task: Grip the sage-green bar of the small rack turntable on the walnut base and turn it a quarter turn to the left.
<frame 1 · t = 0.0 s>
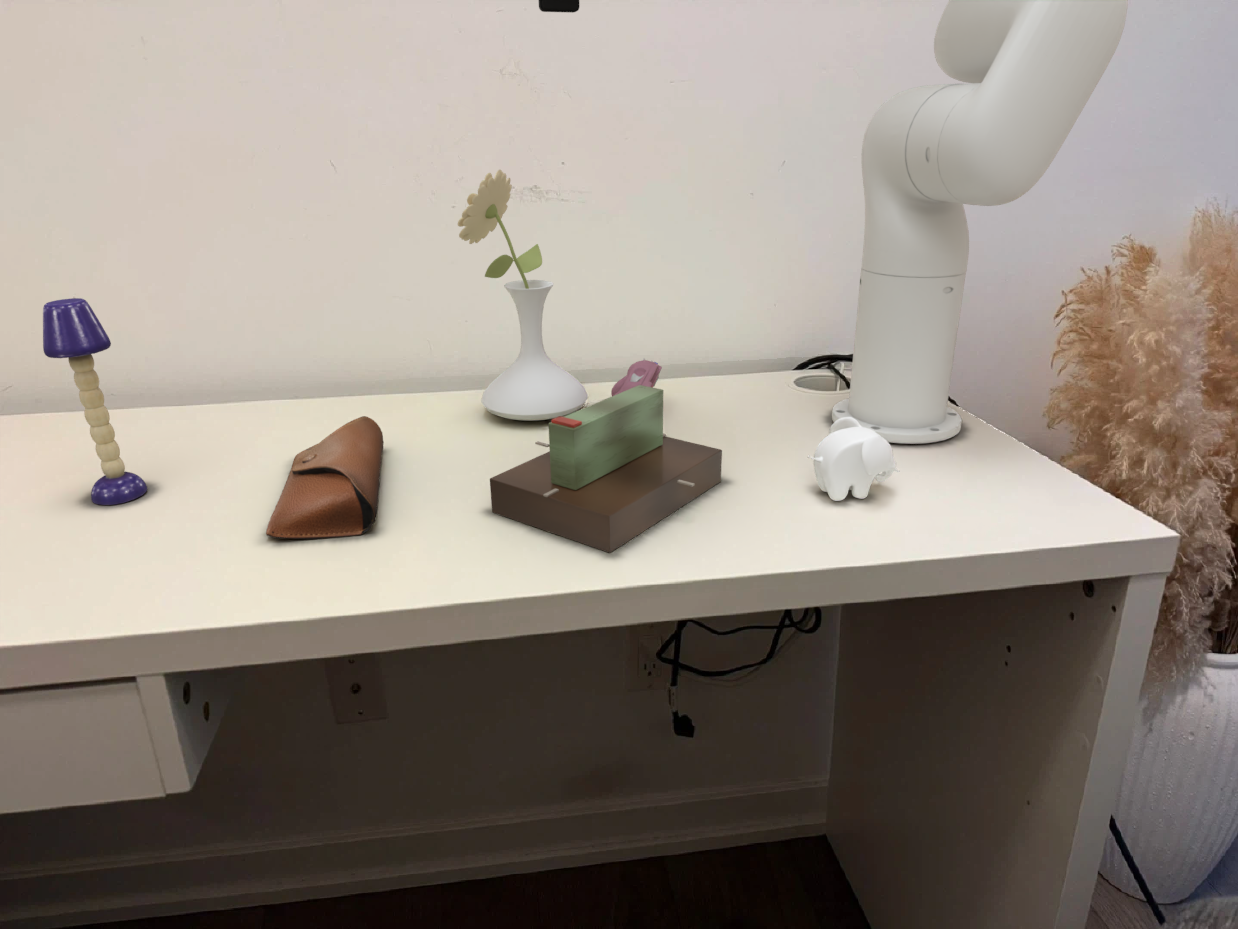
hand: (576, 4, 63), 37 cm above the table, tool pointing down, fingers open, 9 cm apart
toy lamp: (118, 496, 73), on the table
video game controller: (630, 416, 91), on the table
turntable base: (610, 496, 71), on the table
rack bar: (609, 433, 69), point 6 cm above the table, hinge at 0.0°
sunglasses case: (333, 494, 73), on the table
elephant figurine: (848, 495, 71), on the table
flower in vase: (529, 416, 91), on the table
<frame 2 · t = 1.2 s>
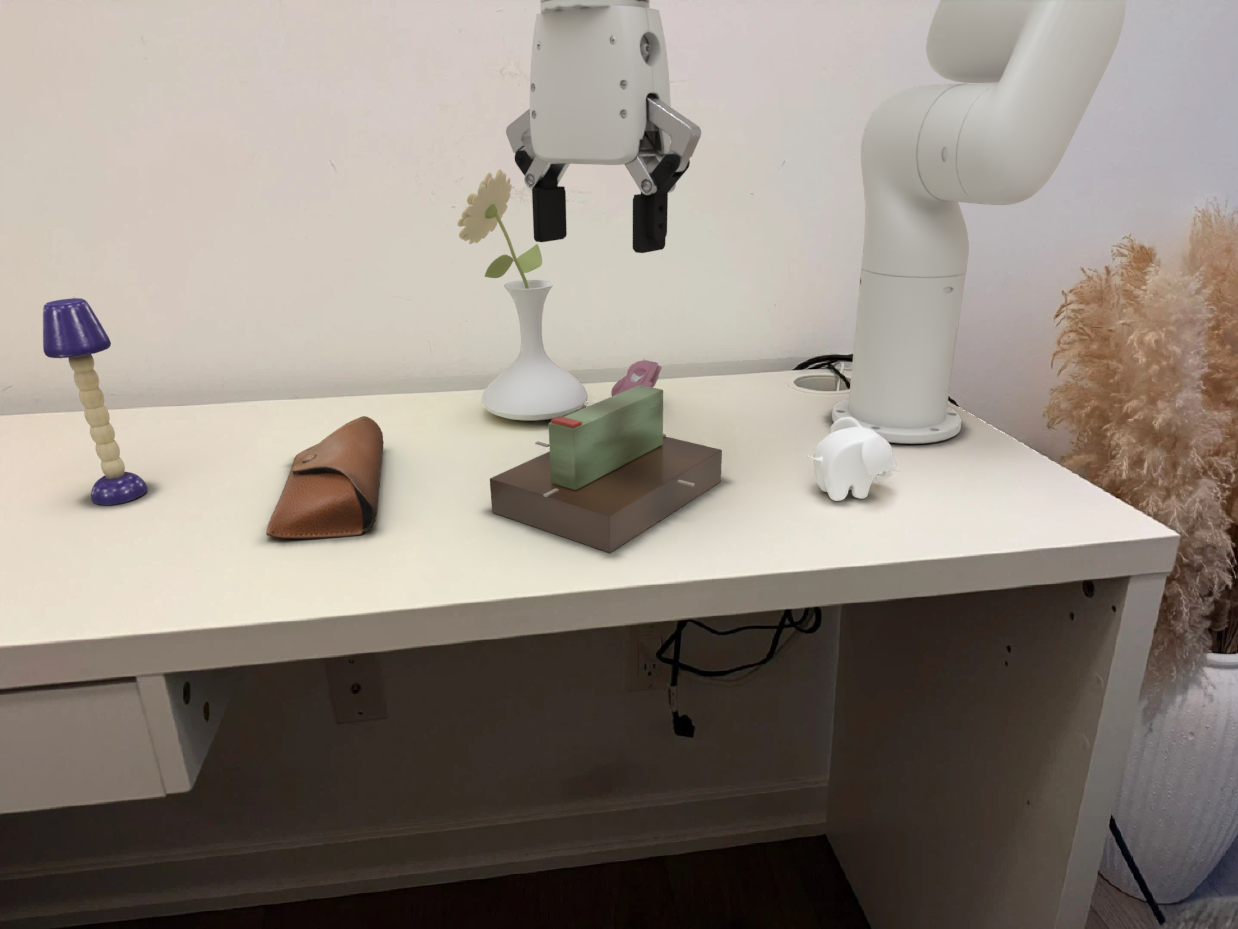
hand: (597, 245, 65), 20 cm above the table, tool pointing down, fingers open, 9 cm apart
nothing on the table moved.
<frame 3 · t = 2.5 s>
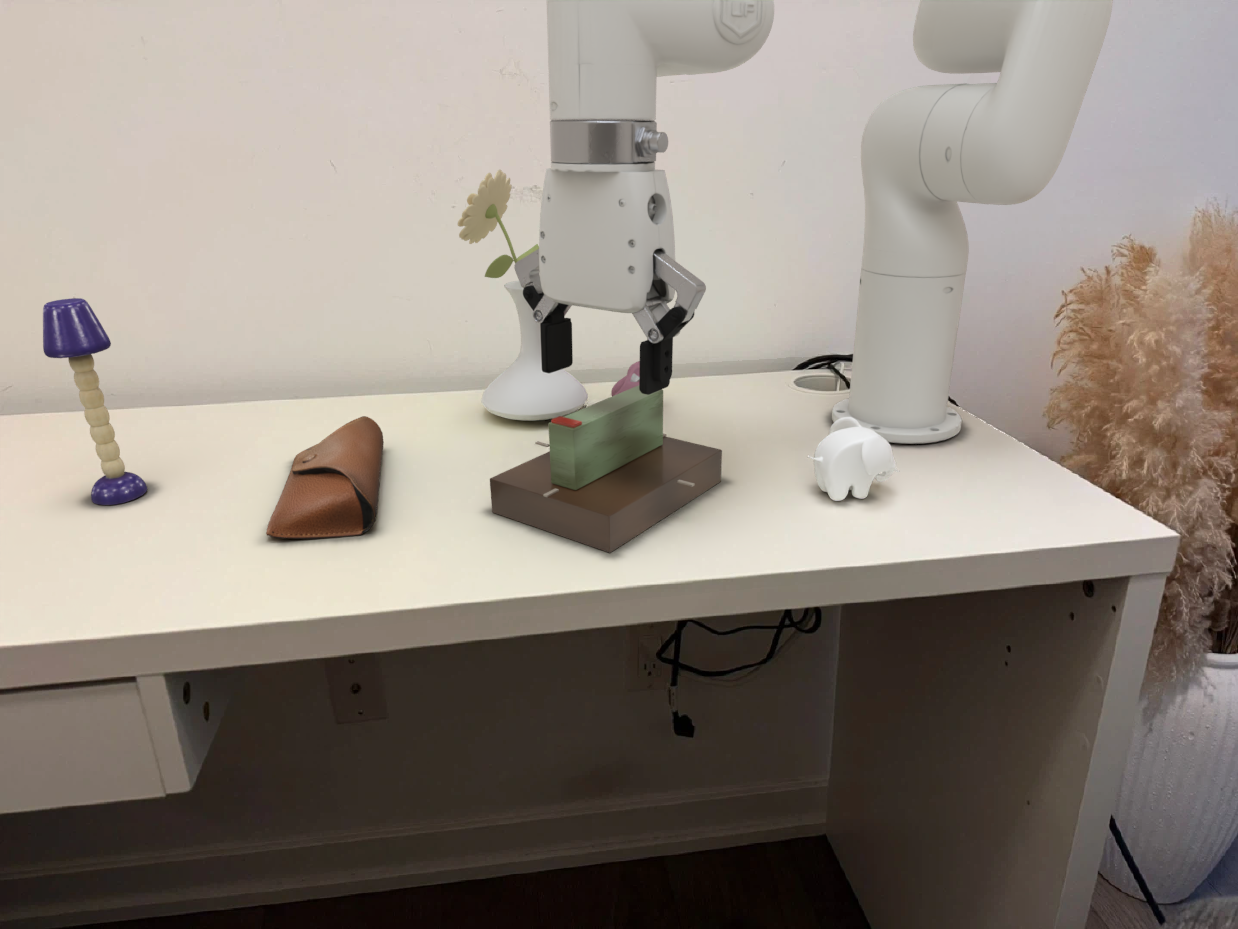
hand: (604, 379, 67), 10 cm above the table, tool pointing down, fingers open, 9 cm apart
nothing on the table moved.
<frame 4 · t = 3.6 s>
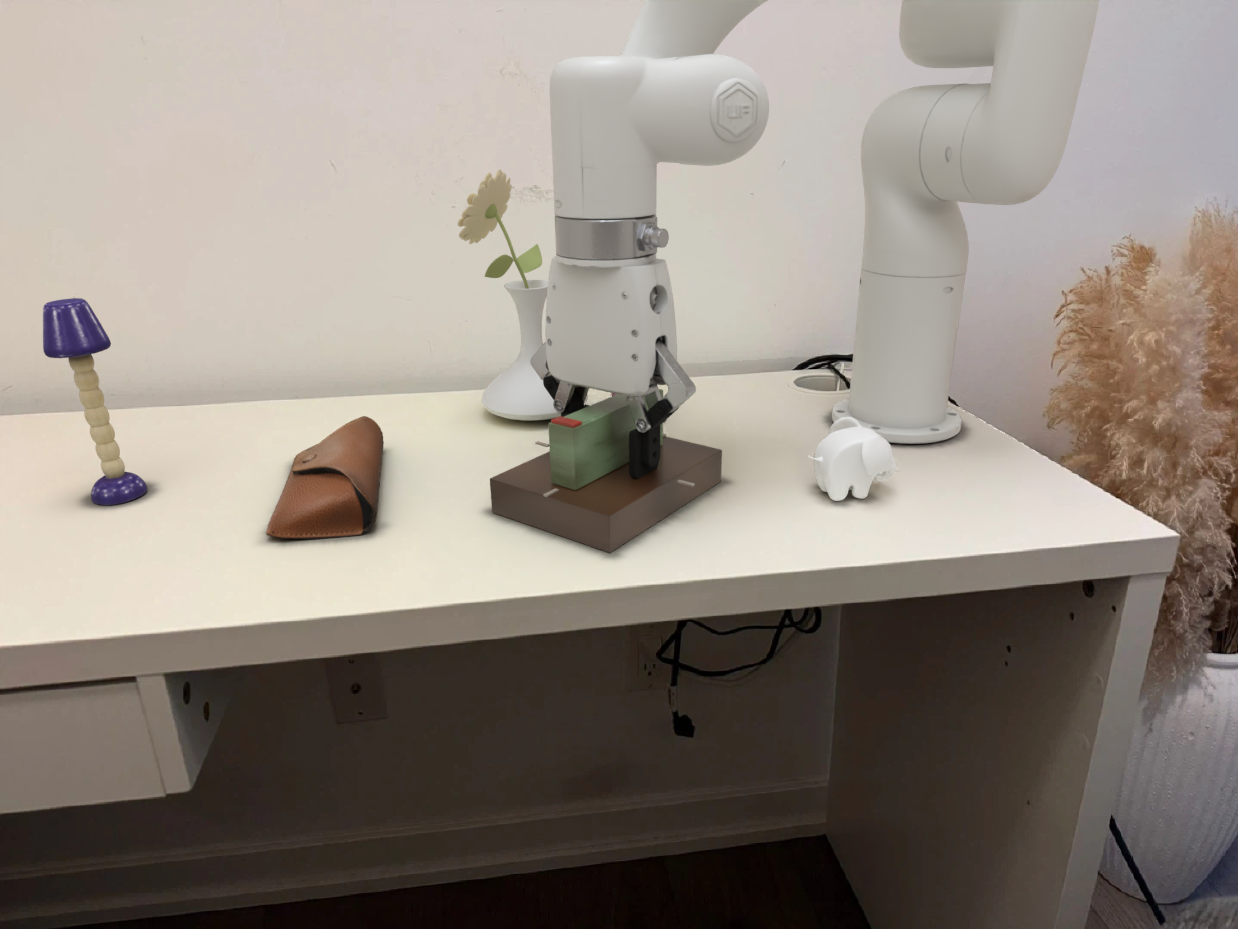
hand: (609, 461, 70), 3 cm above the table, tool pointing down, fingers closed on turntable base, 6 cm apart
nothing on the table moved.
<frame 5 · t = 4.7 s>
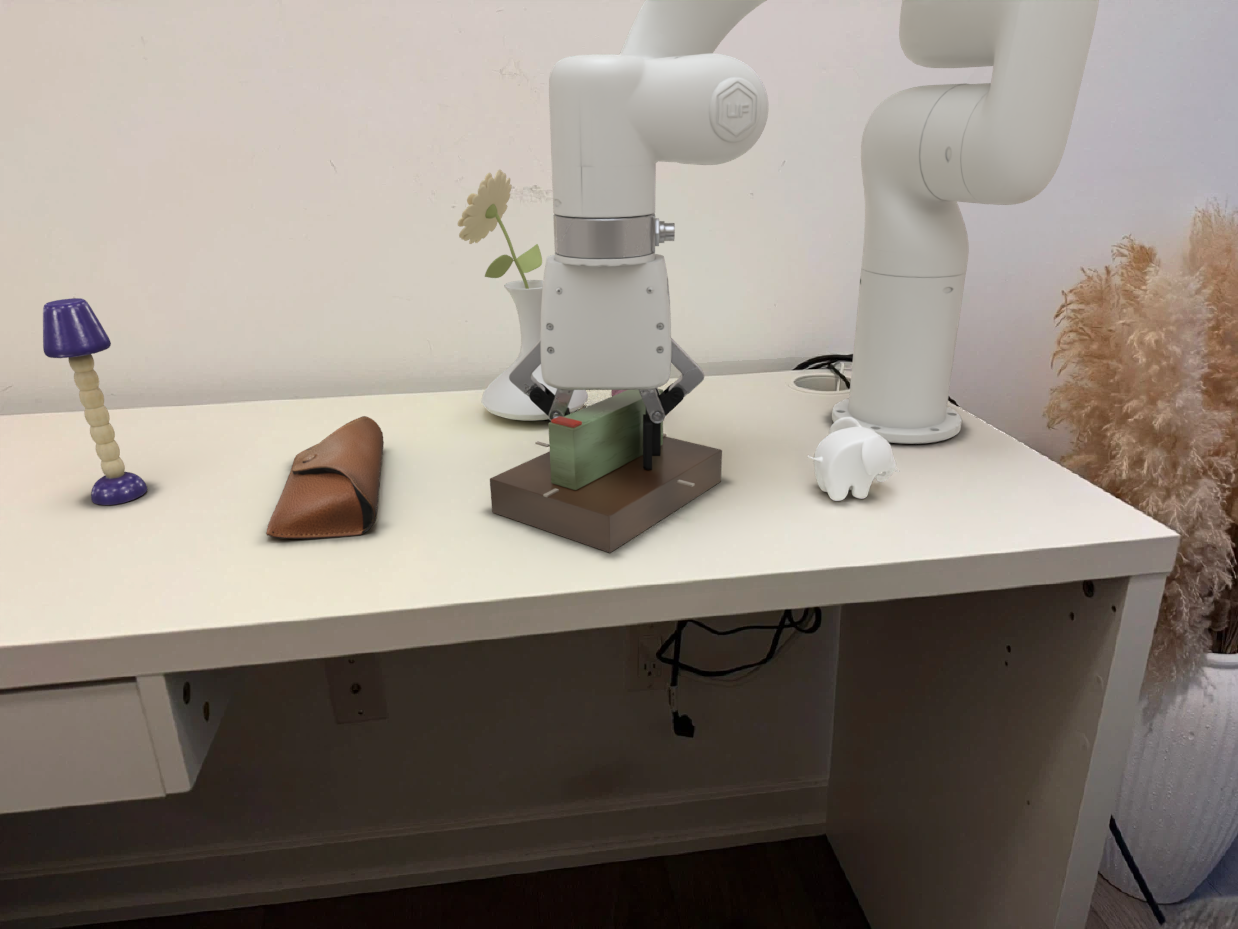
hand: (607, 461, 70), 3 cm above the table, tool pointing down, fingers open, 5 cm apart
nothing on the table moved.
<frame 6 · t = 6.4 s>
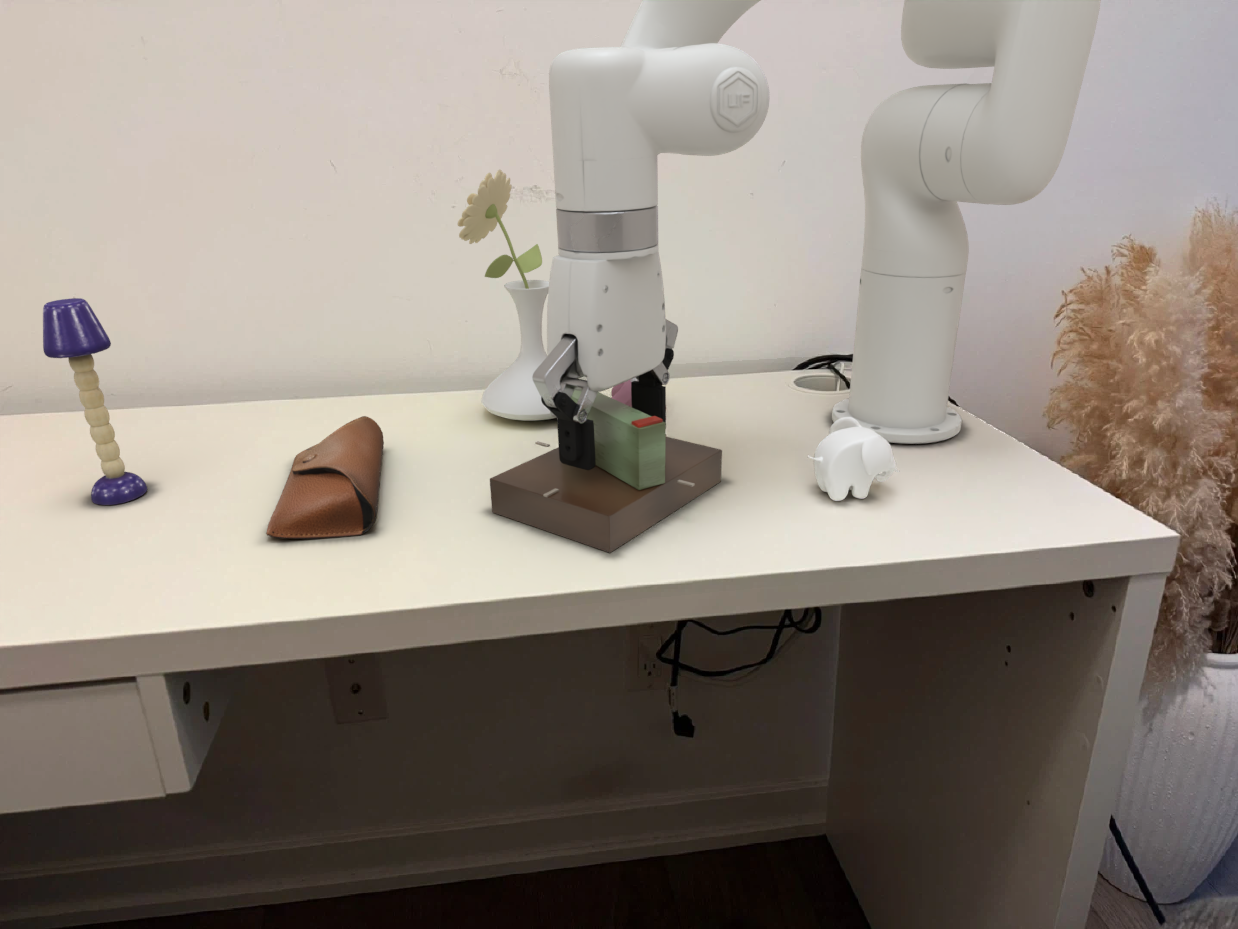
hand: (615, 446, 70), 4 cm above the table, tool pointing down, fingers open, 9 cm apart
rack bar: (609, 433, 69), point 6 cm above the table, hinge at 70.2°
everything else where it was.
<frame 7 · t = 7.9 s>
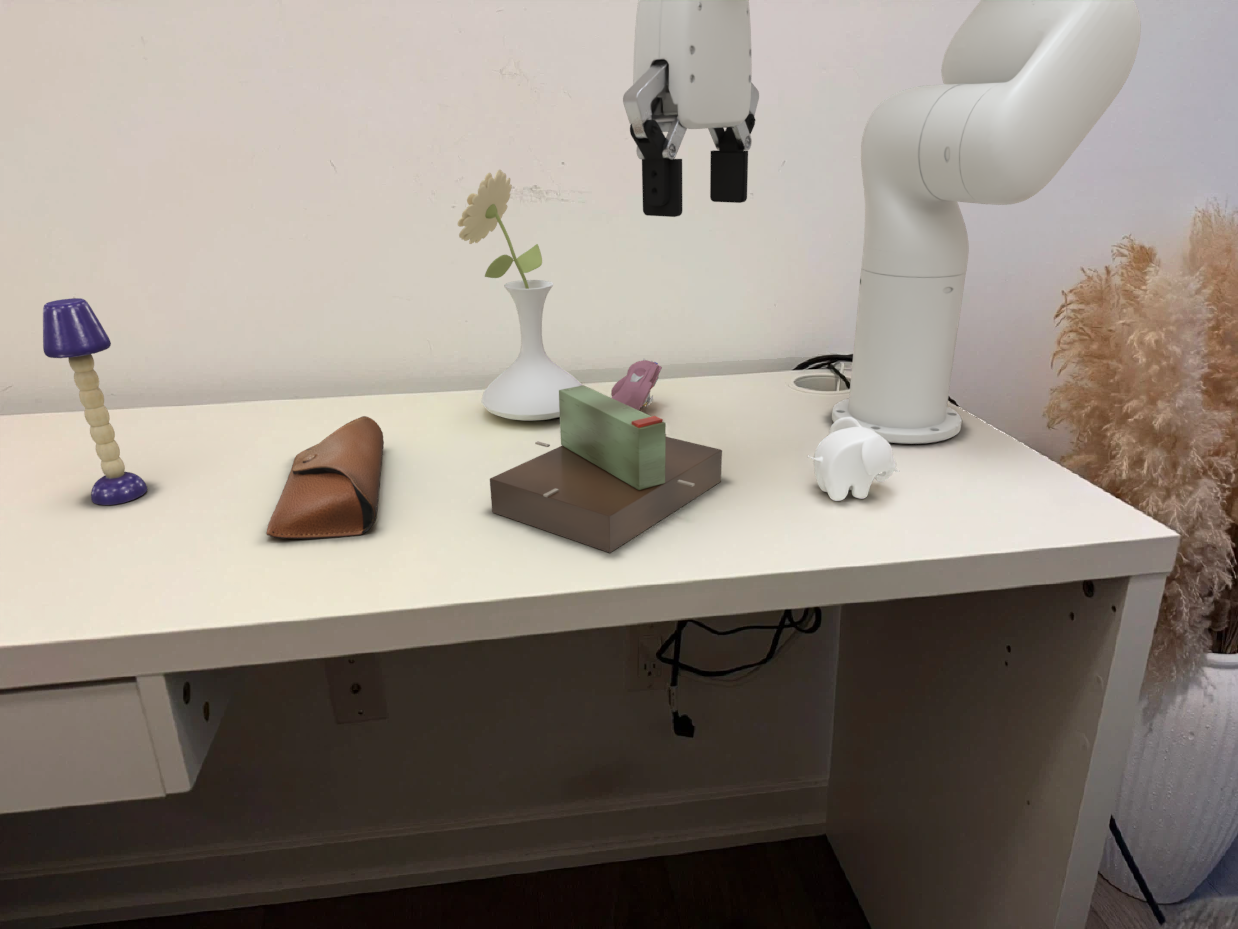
hand: (697, 208, 67), 23 cm above the table, tool pointing down, fingers open, 9 cm apart
nothing on the table moved.
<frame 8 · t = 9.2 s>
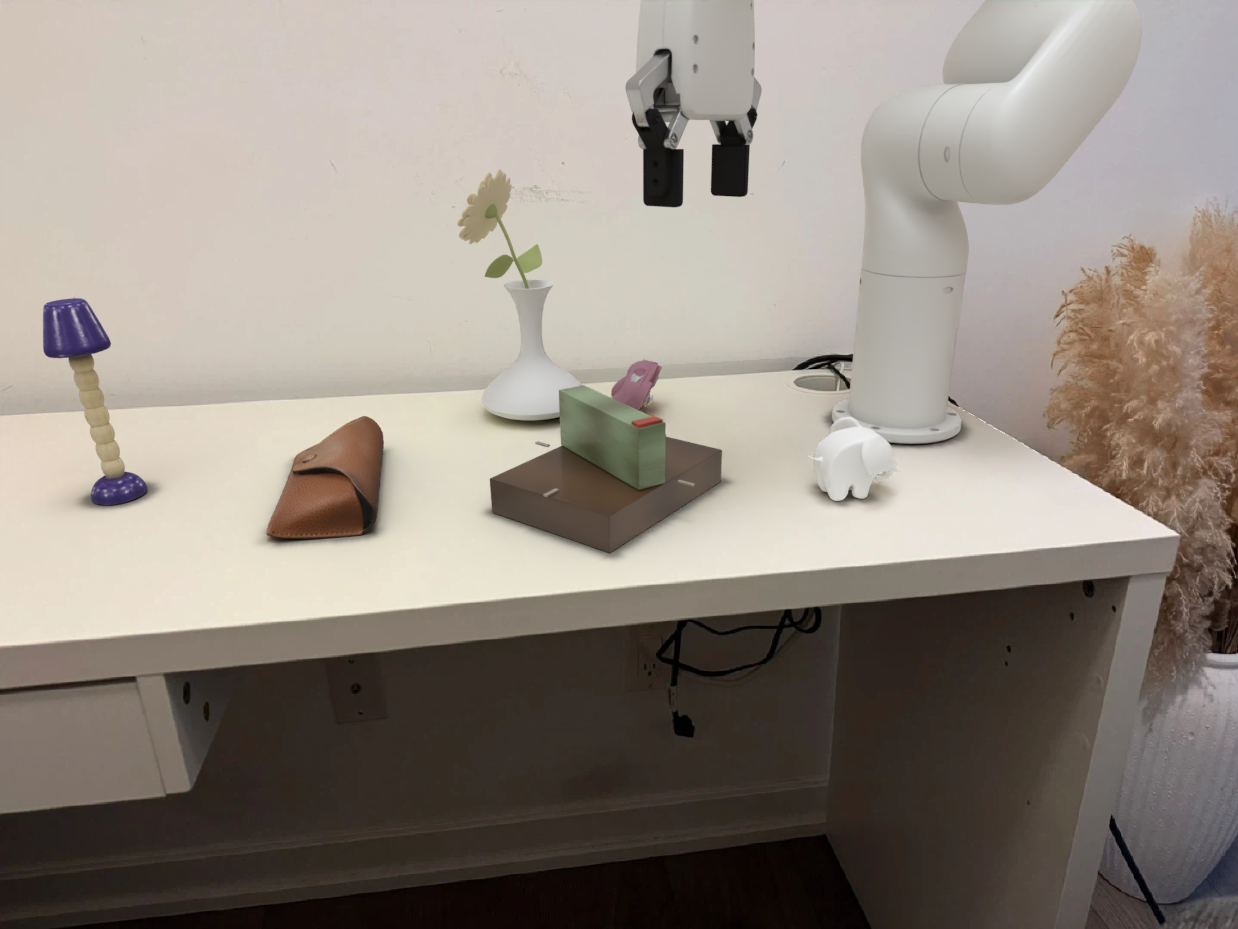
hand: (697, 200, 67), 23 cm above the table, tool pointing down, fingers open, 9 cm apart
nothing on the table moved.
at the end: rack bar at +70° (first picture: +0°) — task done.
